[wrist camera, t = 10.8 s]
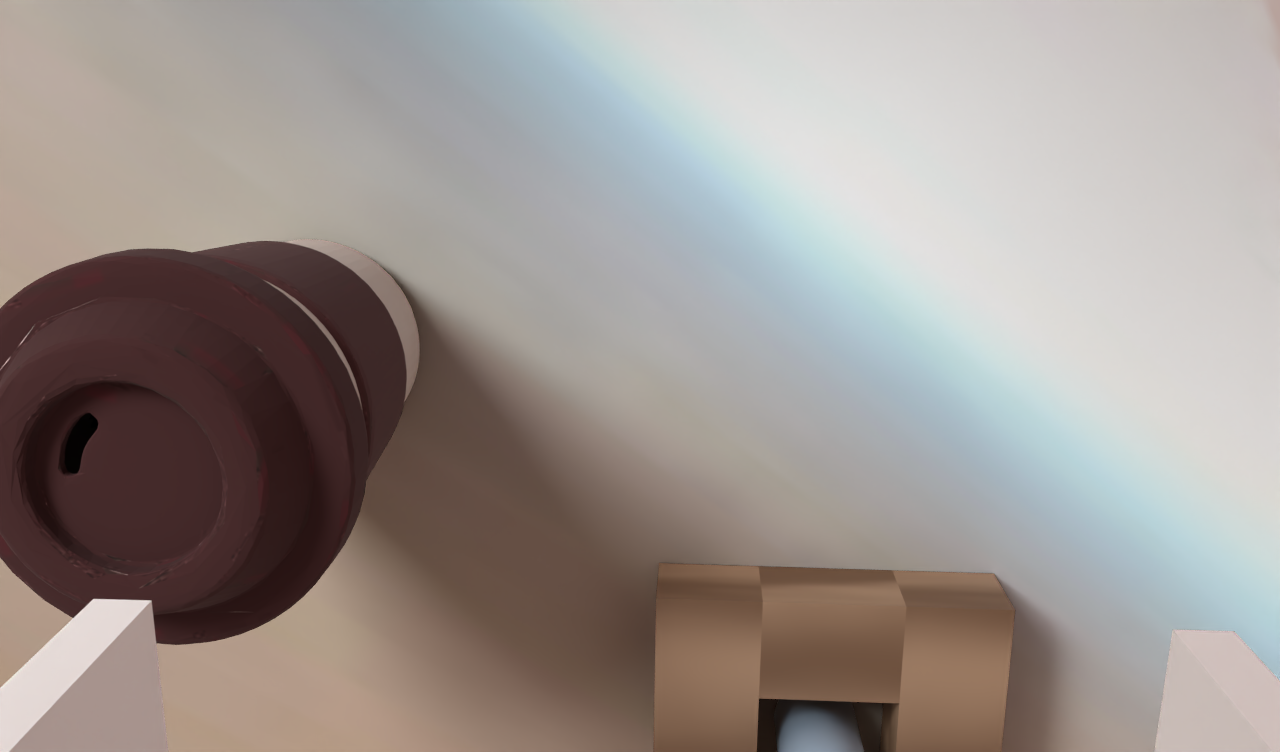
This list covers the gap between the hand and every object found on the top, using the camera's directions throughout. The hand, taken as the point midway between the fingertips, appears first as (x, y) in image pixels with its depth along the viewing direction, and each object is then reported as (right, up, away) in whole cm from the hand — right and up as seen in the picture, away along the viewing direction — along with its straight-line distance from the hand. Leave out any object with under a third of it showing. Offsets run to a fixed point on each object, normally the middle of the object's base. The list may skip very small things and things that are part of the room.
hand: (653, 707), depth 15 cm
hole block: (+6, -9, +29) cm, 31 cm away
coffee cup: (-11, +6, +27) cm, 29 cm away
